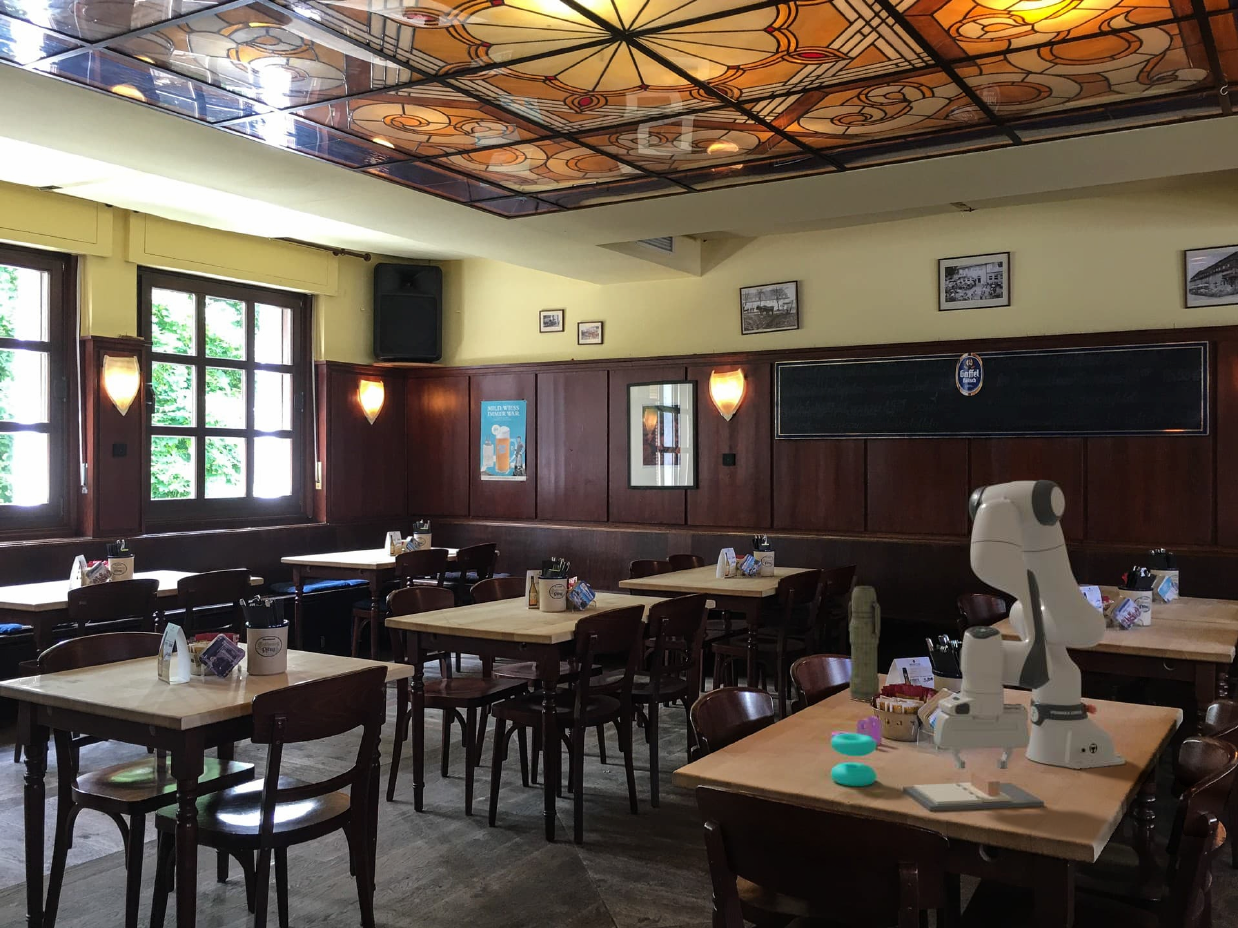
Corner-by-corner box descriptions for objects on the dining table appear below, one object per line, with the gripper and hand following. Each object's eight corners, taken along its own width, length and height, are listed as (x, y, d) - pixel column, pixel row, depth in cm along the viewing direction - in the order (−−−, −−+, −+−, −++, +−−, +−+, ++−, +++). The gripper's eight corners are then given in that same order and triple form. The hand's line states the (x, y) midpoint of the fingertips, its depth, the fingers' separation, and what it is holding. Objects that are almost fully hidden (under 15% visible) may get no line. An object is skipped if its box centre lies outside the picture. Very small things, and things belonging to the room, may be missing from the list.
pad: (1010, 787, 237) (1010, 779, 237) (1043, 806, 223) (1043, 797, 223) (903, 791, 233) (903, 783, 233) (929, 810, 219) (929, 802, 219)
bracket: (881, 744, 276) (881, 717, 276) (869, 748, 272) (869, 720, 272) (839, 735, 285) (839, 709, 285) (827, 738, 281) (827, 712, 281)
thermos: (856, 694, 339) (856, 584, 340) (888, 699, 331) (888, 586, 331) (839, 697, 333) (839, 585, 334) (871, 703, 325) (871, 588, 325)
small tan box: (984, 784, 235) (984, 768, 235) (1011, 800, 223) (1011, 783, 223) (958, 785, 234) (958, 769, 234) (984, 801, 222) (984, 784, 222)
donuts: (822, 737, 241) (844, 729, 248) (822, 781, 241) (845, 772, 248) (862, 744, 234) (884, 736, 242) (862, 790, 234) (884, 780, 242)
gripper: (1020, 700, 233) (1020, 764, 233) (931, 700, 231) (930, 765, 230) (1035, 706, 227) (1034, 771, 227) (943, 706, 224) (942, 772, 224)
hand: (981, 768), depth 228 cm, fingers open, 8 cm apart
